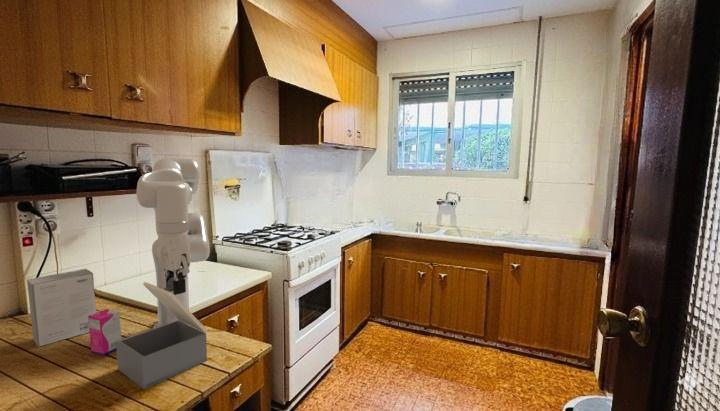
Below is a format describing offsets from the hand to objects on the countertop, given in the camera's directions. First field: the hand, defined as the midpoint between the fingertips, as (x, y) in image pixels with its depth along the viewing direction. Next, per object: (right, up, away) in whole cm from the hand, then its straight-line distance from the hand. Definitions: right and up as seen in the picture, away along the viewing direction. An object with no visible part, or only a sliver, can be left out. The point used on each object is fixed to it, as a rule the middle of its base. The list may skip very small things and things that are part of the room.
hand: (176, 291), depth 102 cm
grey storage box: (-3, -20, -1) cm, 20 cm away
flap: (0, -5, 0) cm, 5 cm away
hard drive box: (-44, -18, +15) cm, 50 cm away
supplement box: (-24, -19, +6) cm, 32 cm away
